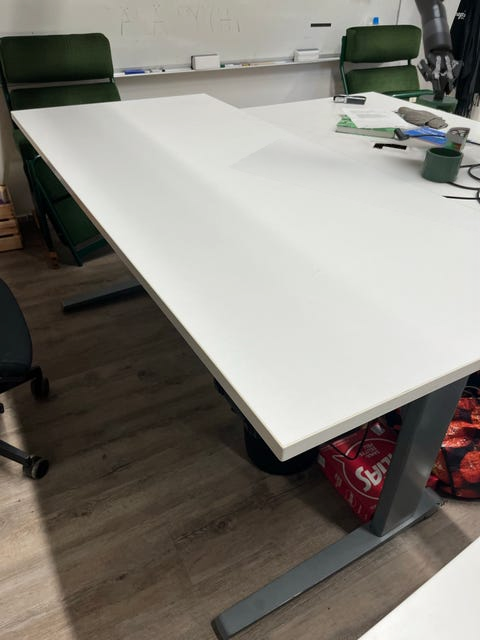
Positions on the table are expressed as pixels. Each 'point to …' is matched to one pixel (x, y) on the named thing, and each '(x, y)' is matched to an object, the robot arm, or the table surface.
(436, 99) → the lid
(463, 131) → the food container
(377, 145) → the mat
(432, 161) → the pot
